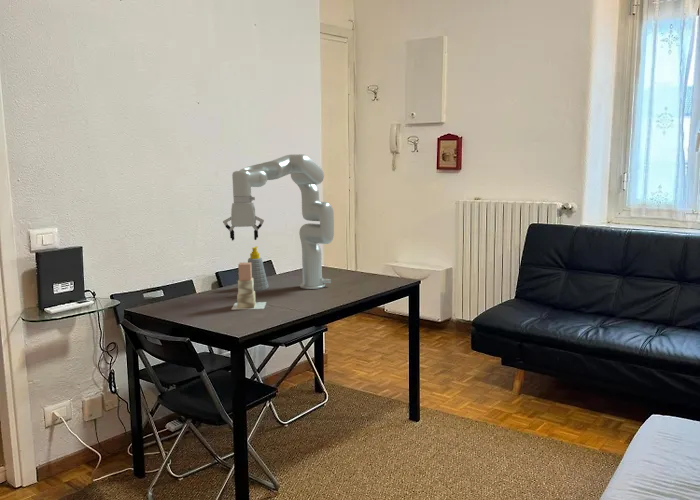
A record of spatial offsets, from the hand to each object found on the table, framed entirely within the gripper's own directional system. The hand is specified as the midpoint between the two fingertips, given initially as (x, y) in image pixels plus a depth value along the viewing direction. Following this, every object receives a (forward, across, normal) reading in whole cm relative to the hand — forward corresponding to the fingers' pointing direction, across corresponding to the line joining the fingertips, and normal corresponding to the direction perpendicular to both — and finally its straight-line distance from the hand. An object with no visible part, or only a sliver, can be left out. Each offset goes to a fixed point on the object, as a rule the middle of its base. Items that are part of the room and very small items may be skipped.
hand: (244, 239), depth 276 cm
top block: (+17, 0, 0) cm, 17 cm away
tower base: (+29, 0, 0) cm, 29 cm away
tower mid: (+23, 0, 0) cm, 23 cm away
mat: (+30, -1, -1) cm, 30 cm away
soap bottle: (+30, 0, -39) cm, 49 cm away
